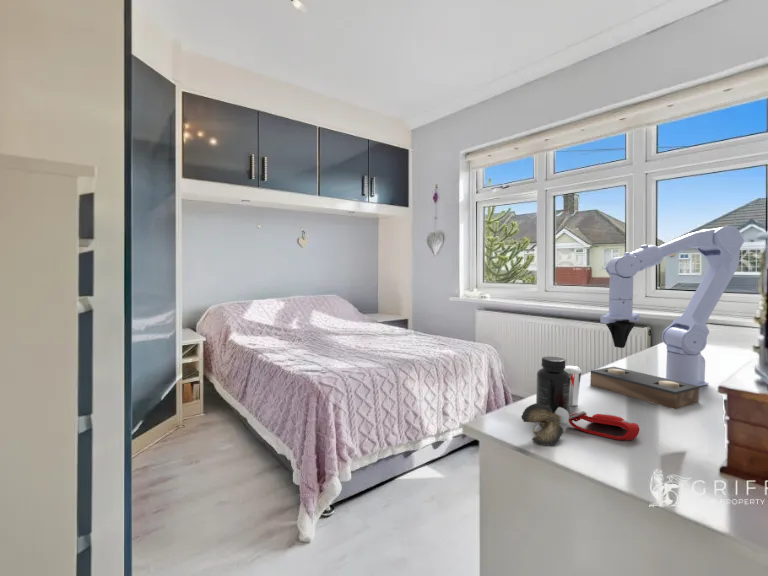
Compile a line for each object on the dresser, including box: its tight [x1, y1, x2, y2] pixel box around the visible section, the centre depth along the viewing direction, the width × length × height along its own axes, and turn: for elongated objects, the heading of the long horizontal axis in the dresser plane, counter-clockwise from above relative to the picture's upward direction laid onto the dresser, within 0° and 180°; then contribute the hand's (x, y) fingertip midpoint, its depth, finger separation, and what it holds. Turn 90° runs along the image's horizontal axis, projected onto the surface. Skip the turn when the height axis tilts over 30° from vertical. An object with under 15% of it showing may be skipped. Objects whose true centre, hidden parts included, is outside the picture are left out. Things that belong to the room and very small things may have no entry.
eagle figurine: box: [521, 402, 570, 447], centre depth 75 cm, size 8×7×9 cm
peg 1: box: [608, 369, 625, 375], centre depth 106 cm, size 4×4×4 cm
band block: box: [589, 366, 700, 410], centre depth 100 cm, size 10×21×4 cm, turn 26°
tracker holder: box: [568, 411, 640, 441], centre depth 76 cm, size 12×4×10 cm
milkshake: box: [564, 358, 582, 407], centre depth 93 cm, size 5×5×10 cm
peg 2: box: [659, 381, 679, 388], centre depth 94 cm, size 4×4×4 cm
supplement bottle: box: [535, 356, 570, 414], centre depth 87 cm, size 7×7×12 cm
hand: (619, 347), depth 110 cm, fingers closed
